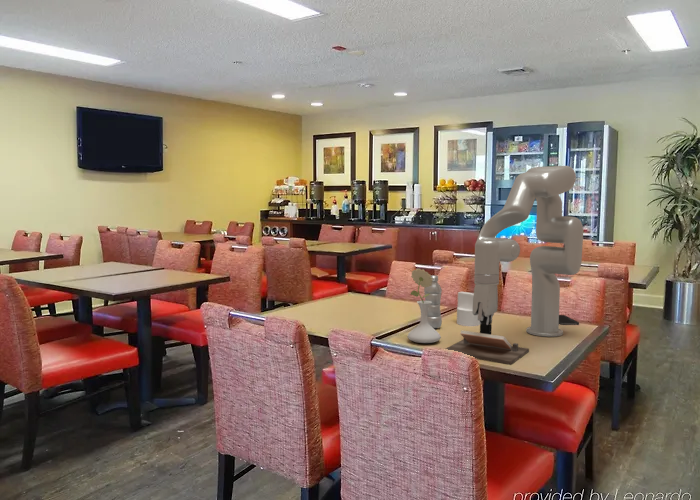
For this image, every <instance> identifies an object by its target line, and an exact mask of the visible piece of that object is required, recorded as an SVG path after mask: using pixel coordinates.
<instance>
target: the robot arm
mask: <svg viewBox="0 0 700 500" xmlns="http://www.w3.org/2000/svg"><path fill="white" fill-rule="evenodd" d="M576 179H577V176H576V171H575V170H574V168H573V167H571V166H570V165H555V166H535V167H532V168H529V169H528V170H527V171H525V172H522V173H519V174H518V175H517V176H516V177H515V179H514V181H513V184H512V186H511V188H510V191H509V193H508V196H507V199H506V200H505V204H504V205H503V208H502V209H500V210H499V211H498V212H496V213H495V214H494V215H492V216H491V217H490V218H489V219H488V220H487V221H486V222H485V223H484V224H483V226H481V227H482V228H481V229H480V232H479V233H478V236H477V239H476V241H475V244H474V276H473V277H474V279H473V281H474V289H473V293H474V295H473V310H472V313H473V315H477V314H478V320H479V321H480V325H479V333H483V334H490V335H492V326H493V325H492V324H493V316H494V315H495V313H497V311H498V303H499V301H498V299H499V297H498V295H499V293H498V286H499V284H500V262H503V263H504V262H505V263H511V262H514V261H515V260H517V259H518V257H519V256H520V254H521V248H520V244H519V243H518V241H516V240H515V239H513V238H509V237H508V238H504V237H496V236H497V235H498V234H499V233H500V232H502V231H503V230H505V229H507V228H511V227H513V226H516V225H518V224H520V223H523V222H525V221H526V220H527V219H528V218H529V216H530V214H531V211H532V208H533V205H534V203H535V201H536V221H535V222H536V224H535V225H536V226H535V235H536V238H537V240H538V241H540V242H543V243H551V244H553V243H554V244H564V246H563V247H562V246H550V245H549V246H548V245H541V246H536V247H535V248H533V249H532V250H531V252H530V255H529V264H530V270H531V286H532V287H531V307H530V308H531V314H530V326H529V327H526V329H525V330H526V333H528V334H530V335H534V336H537V337H538V336H539V337H545V338H546V337H549V338H551V337H553V338H554V337H560V336H563V334H564V331H563V329H562V328H559V326H560V325H559V315H560V298H561V297H560V294H561V285H560V282H559V279H558V277H557V276H556V275H565V276H574V275H577V274H578V273H579V271H580V269H581V266H582V263H583V262H582V261H583V258H582V257H583V246H584V245H583V243H584V227H583V223H582V221H581V220H580V219H579V218H578V217H575V216H569V215H568V216H567V215H566V216H565V215H564V216H563V201H562V198H561V196H560V195H562V194H565V193H566V192H569V191H570V190H571V189H573V187H574V185H575V184H576V181H577V180H576ZM555 274H556V275H555Z"/></svg>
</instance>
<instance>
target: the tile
mask: <svg viewBox="0 0 700 500" xmlns="http://www.w3.org/2000/svg"><path fill="white" fill-rule="evenodd" d="M459 335H461V336H462V337H463V339H464V338H465V339H466V340H467V341H468V342H469V343H472V344H478V345H485V346H491V347H498V348H504V349H510V350H512V346H513V344H511V343H510V342H509V341H508V339H507V338H506V337H505V336H503V335H497V334H495V335H494V334H491V335H490V334H483V333H480V332H476V331H468V330H463V329H462V330H460V334H459Z"/></svg>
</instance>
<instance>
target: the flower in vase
mask: <svg viewBox="0 0 700 500" xmlns="http://www.w3.org/2000/svg"><path fill="white" fill-rule="evenodd" d="M430 276H431V274H430V273H429V271H425V269H424V268H422V269H421V268H419V267H418V268H415V269H413V270H412V271H411V275H410V278H412V280H413V281H414V283H415V284H417V286H418V288H417V290H412V291H411V292H410V295H412V296H414V297H417V298H418V297H420V300H418V301H417V300H416V302H417V305H418V306H419V310H420V322H419V324H418V325H416V326H415V327H414V328H412V329H411V330H410V331H409V332H408V334H407V338H408V339H409V341H411V342H415V343H420V344H433V343H436V342H439V341H440V339H441V338H442V337H441V334H440V333H439V331H437V330H436V328H432V327H431V326H430V325H429V323H428V319H427V316H428V309H429V306H430V304H431V303H432V302H431V301H425V300H424V299H425V297H426V296H428V295H429V294H430V293H429V294H426V295H425V294H424V296H422V295H421V294H420V286H421V287H422V288H425V287H429V286H432V281H433V280H432V278H431V277H430ZM423 298H424V299H423Z"/></svg>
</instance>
